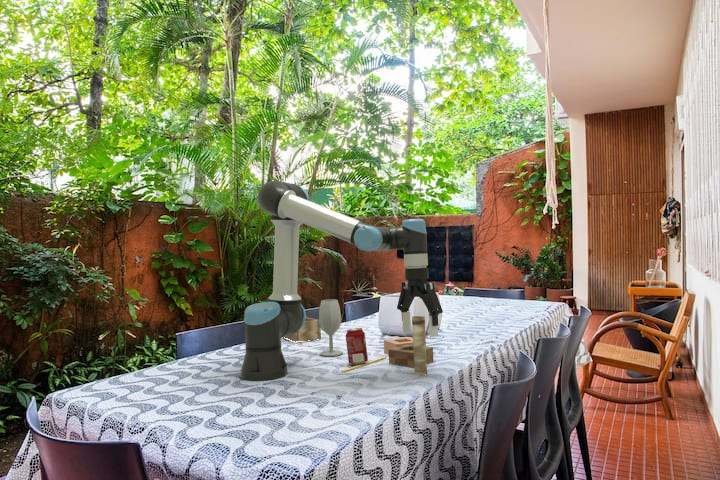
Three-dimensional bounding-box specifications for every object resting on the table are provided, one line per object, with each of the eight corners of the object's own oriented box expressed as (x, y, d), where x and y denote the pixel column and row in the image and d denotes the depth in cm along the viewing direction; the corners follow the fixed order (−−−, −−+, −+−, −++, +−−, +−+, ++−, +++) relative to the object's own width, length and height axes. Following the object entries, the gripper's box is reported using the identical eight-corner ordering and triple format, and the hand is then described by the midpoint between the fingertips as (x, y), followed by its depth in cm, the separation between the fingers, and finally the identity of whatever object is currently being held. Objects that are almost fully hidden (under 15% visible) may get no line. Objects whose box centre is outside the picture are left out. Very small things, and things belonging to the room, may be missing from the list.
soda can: (366, 364, 172) (362, 329, 173) (346, 366, 173) (343, 331, 174) (369, 361, 178) (365, 327, 179) (351, 362, 180) (347, 328, 181)
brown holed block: (414, 367, 168) (413, 352, 168) (389, 363, 175) (388, 349, 175) (433, 361, 176) (432, 347, 176) (408, 358, 183) (407, 344, 183)
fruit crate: (295, 343, 221) (294, 323, 221) (283, 339, 233) (282, 320, 233) (321, 339, 228) (320, 320, 228) (307, 336, 239) (307, 317, 239)
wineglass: (332, 357, 188) (330, 301, 189) (315, 355, 194) (313, 301, 194) (347, 353, 195) (345, 299, 196) (330, 351, 201) (328, 298, 201)
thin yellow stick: (344, 372, 165) (344, 371, 165) (341, 372, 166) (341, 370, 166) (386, 358, 184) (386, 357, 184) (383, 358, 185) (383, 356, 185)
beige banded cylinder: (419, 375, 157) (417, 318, 157) (411, 373, 160) (409, 316, 161) (429, 373, 159) (427, 316, 159) (421, 371, 163) (419, 315, 163)
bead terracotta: (396, 358, 184) (396, 344, 184) (384, 352, 194) (383, 339, 194) (423, 354, 188) (422, 341, 188) (409, 349, 198) (409, 336, 198)
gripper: (451, 266, 152) (455, 337, 151) (402, 266, 173) (405, 328, 172) (432, 268, 148) (436, 340, 147) (384, 268, 169) (387, 331, 169)
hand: (420, 334), depth 160 cm, fingers open, 13 cm apart
